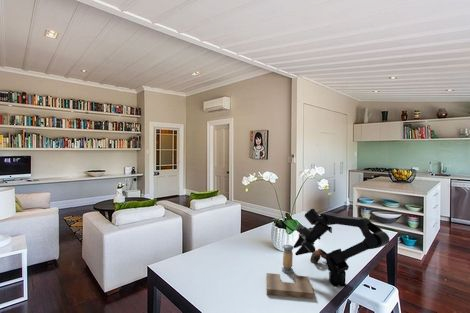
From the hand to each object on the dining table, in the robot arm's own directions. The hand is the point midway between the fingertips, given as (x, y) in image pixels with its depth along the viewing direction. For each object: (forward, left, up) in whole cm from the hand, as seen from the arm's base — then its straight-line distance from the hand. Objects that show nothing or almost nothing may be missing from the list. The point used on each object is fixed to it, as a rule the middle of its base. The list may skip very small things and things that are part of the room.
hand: (294, 251), depth 129 cm
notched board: (+4, +16, -11) cm, 20 cm away
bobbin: (+3, 0, -11) cm, 11 cm away
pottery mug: (-15, -12, -11) cm, 22 cm away
